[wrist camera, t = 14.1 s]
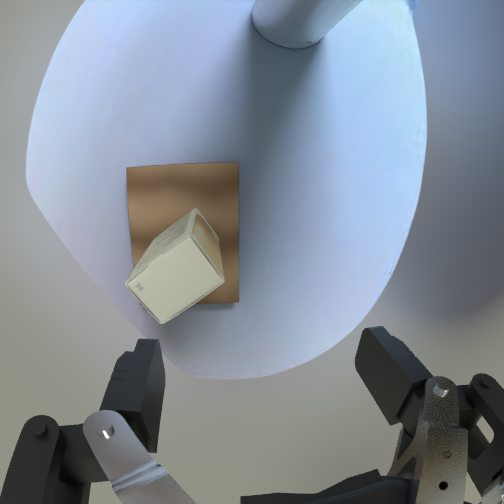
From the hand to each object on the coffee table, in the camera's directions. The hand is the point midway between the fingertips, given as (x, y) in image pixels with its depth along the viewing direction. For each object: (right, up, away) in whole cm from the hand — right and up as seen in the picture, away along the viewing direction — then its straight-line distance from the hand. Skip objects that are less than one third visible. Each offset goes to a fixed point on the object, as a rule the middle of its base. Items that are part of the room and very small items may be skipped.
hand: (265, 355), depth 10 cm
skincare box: (-8, +5, +21) cm, 23 cm away
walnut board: (-8, +6, +22) cm, 24 cm away
